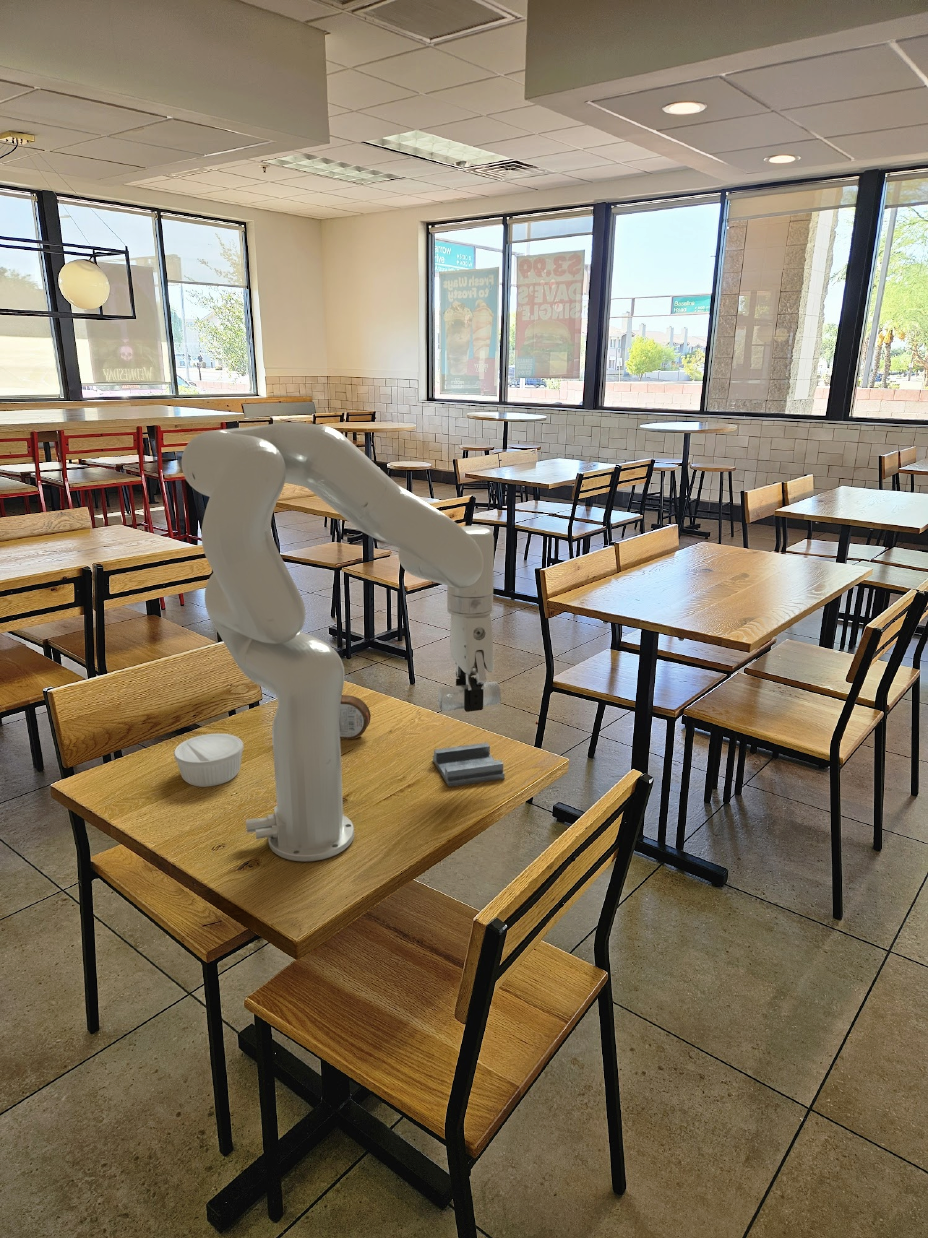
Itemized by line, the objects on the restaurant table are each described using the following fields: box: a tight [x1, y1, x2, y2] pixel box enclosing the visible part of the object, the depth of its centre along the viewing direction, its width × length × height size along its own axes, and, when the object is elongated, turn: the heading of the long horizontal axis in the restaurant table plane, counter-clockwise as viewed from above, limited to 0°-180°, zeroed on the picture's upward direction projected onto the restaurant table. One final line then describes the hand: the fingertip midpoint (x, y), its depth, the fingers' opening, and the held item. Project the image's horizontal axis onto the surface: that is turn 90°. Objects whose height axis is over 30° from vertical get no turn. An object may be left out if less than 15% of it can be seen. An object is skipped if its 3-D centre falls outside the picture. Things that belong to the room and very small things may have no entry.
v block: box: [432, 742, 506, 788], centre depth 141 cm, size 10×10×2 cm
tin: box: [340, 694, 372, 740], centre depth 153 cm, size 15×3×8 cm, turn 84°
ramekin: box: [173, 732, 244, 788], centre depth 139 cm, size 11×11×5 cm
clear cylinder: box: [437, 680, 502, 712], centre depth 138 cm, size 10×4×4 cm, turn 108°
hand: (469, 703), depth 138 cm, fingers closed on clear cylinder, 4 cm apart
